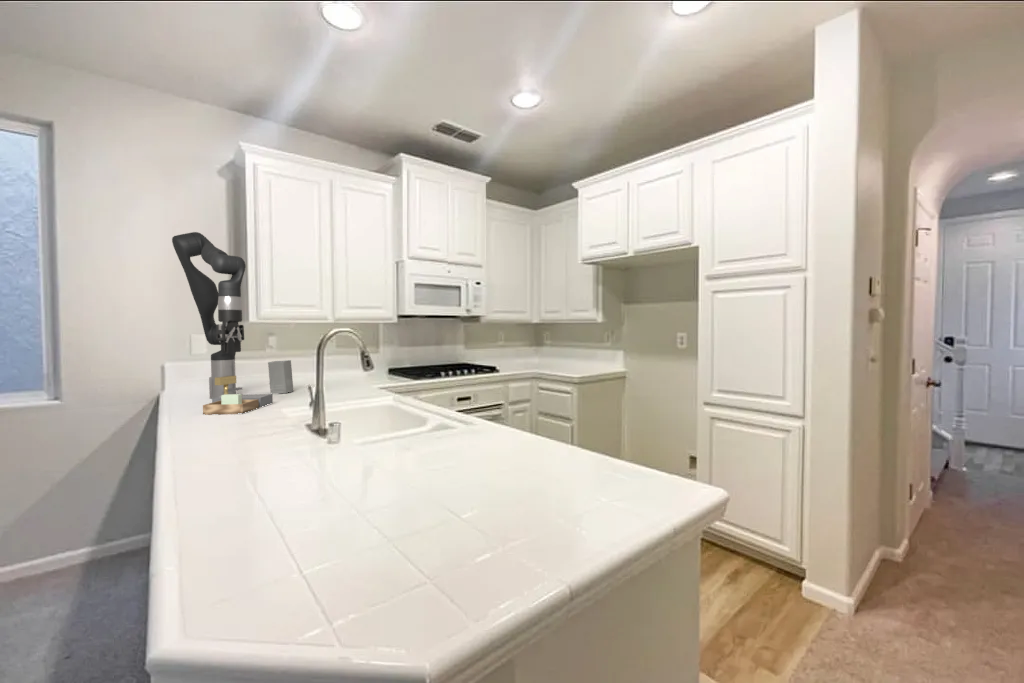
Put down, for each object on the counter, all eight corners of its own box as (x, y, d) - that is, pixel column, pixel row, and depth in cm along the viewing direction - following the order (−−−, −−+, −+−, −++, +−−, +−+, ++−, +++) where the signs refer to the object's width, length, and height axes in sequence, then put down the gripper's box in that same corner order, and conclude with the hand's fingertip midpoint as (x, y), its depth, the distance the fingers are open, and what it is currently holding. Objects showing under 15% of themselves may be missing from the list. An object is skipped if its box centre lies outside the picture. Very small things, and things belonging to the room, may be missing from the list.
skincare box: (293, 392, 217) (293, 360, 216) (284, 394, 209) (284, 361, 209) (277, 391, 217) (276, 360, 217) (268, 394, 210) (267, 361, 210)
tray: (203, 414, 157) (202, 405, 157) (221, 409, 169) (221, 400, 169) (242, 413, 158) (242, 404, 158) (258, 408, 170) (258, 399, 170)
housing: (212, 408, 169) (212, 398, 169) (227, 404, 179) (226, 394, 179) (260, 407, 171) (260, 397, 171) (272, 403, 181) (272, 393, 181)
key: (220, 397, 170) (220, 377, 170) (215, 397, 171) (214, 377, 171) (243, 392, 182) (242, 374, 182) (238, 392, 182) (237, 374, 182)
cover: (238, 410, 161) (238, 395, 161) (215, 411, 160) (215, 396, 160) (247, 407, 167) (246, 393, 167) (225, 408, 166) (224, 393, 166)
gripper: (229, 308, 156) (231, 353, 157) (250, 309, 171) (251, 351, 171) (207, 308, 156) (209, 353, 156) (230, 309, 170) (231, 351, 170)
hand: (231, 352), depth 164 cm, fingers open, 8 cm apart
